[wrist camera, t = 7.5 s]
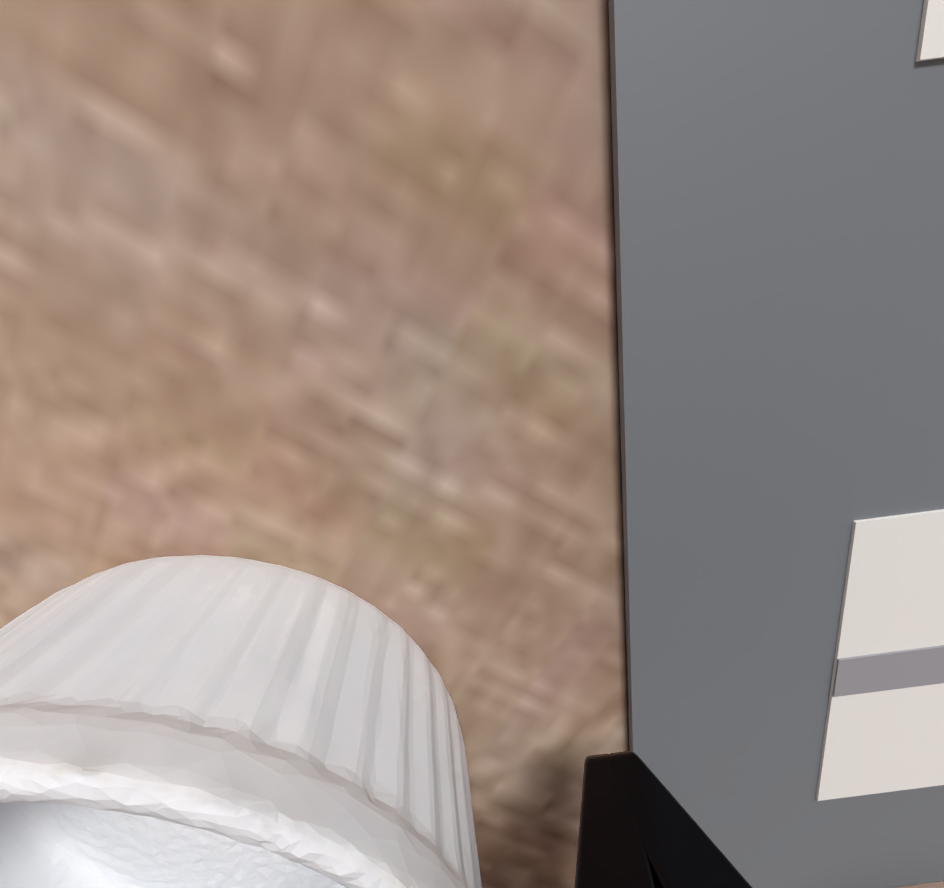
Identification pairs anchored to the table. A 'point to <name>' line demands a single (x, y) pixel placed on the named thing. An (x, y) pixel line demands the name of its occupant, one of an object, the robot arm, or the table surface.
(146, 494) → the table surface
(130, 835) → the ramekin
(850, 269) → the slate mat
